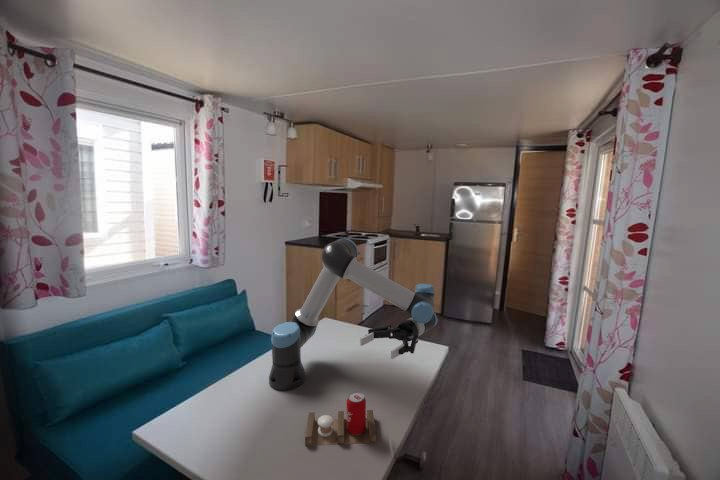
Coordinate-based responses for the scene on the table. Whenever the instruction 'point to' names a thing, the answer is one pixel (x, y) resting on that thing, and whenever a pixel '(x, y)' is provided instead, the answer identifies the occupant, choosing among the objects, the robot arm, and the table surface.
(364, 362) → the table surface
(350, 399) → the beverage can
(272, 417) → the table surface
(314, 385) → the table surface
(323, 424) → the white knob
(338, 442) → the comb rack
